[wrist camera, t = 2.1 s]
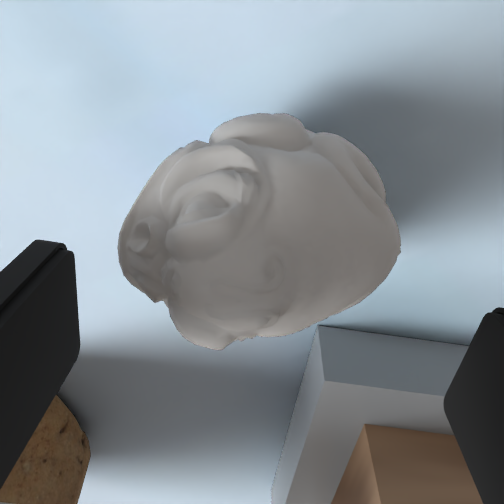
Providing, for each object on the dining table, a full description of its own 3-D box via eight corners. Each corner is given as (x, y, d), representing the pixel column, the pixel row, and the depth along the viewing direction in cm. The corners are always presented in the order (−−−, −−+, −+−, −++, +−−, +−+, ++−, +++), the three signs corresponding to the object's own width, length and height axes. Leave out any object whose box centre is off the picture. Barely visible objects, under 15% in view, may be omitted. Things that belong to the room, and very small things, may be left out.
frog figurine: (164, 78, 13) (75, 148, 7) (390, 97, 13) (484, 181, 7) (169, 248, 17) (110, 393, 11) (353, 263, 17) (398, 417, 11)
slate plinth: (317, 325, 18) (324, 380, 16) (595, 363, 18) (646, 423, 16) (271, 488, 24) (271, 547, 22) (480, 514, 25) (504, 575, 22)
